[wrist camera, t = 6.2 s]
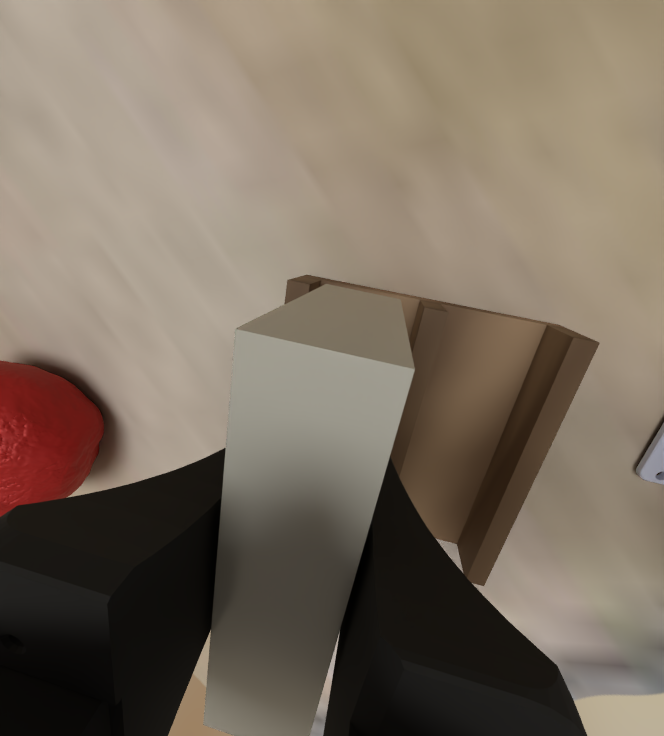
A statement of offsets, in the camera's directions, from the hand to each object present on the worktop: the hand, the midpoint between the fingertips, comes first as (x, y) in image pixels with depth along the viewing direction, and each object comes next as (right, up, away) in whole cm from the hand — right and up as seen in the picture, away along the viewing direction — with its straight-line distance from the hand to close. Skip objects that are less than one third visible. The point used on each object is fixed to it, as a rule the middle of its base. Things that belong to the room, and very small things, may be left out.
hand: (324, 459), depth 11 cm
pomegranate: (-19, 0, +13) cm, 24 cm away
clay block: (0, +1, +2) cm, 2 cm away
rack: (+4, 0, +9) cm, 10 cm away
